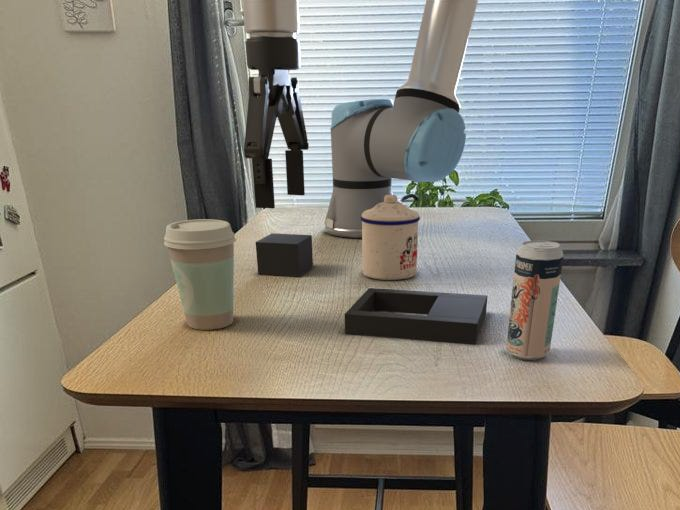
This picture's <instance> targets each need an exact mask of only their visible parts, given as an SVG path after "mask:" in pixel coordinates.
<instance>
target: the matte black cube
mask: <svg viewBox="0 0 680 510" xmlns="http://www.w3.org/2000/svg"><path fill="white" fill-rule="evenodd" d="M255 253H256V265H257V274H258V275H264V276H277V277H280V276H281V277H294V278H295V277H296V278H300V277H301V276H302V275H304V274H305V273H306V272H308V271H309V270H310V269H312V268H313V267H314V257H313V254H314V253H313V236H312V235H311V234H295V233H273V232H272V233H270V234H268V235H266V236H264V237H262V238H261V239H258V240H257V241H255Z"/></svg>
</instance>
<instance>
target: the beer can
mask: <svg viewBox="0 0 680 510" xmlns="http://www.w3.org/2000/svg"><path fill="white" fill-rule="evenodd" d="M563 263H564V252H563V249H562V245H561V243H558V242H556V241H552V240H551V241H550V240H538V239H536V240H527V241H524V242H522V243H521V244H520V247H519V248H518V249H517V251H516V255H515V262H514V273H513V283H512V291H511V300H510V308H509V316H508V317H509V318H508V326H507V337H506V343H505V344H506V345H505V350H506V352H507V353H508V354H509V355H510V356H512V357H513V358H514V359H515V358H516V359H518V360H523V361H536V360H541V359H543V358H545V357H547V356H548V355H549V354H550V351H551V345H552V337H553V332H554V325H555V317H556V311H557V304H558V299H559V298H558V297H559V292H560V291H559V289H560V283H561V275H562V270H563Z"/></svg>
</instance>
